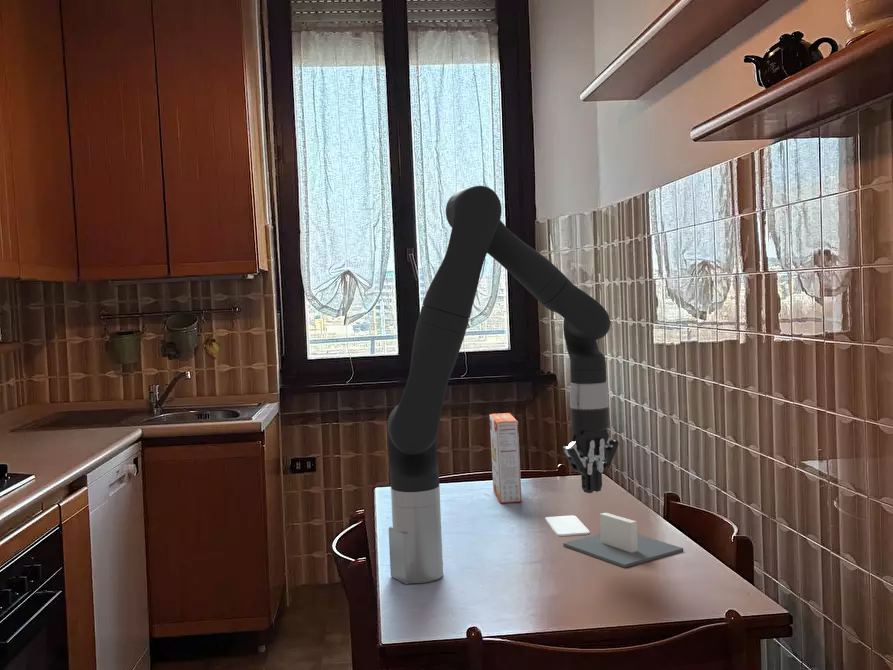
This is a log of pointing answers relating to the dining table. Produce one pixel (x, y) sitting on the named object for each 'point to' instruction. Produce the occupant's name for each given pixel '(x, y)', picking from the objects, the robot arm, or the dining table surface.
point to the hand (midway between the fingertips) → (592, 491)
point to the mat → (646, 550)
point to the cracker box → (505, 457)
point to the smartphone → (567, 525)
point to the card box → (618, 532)
